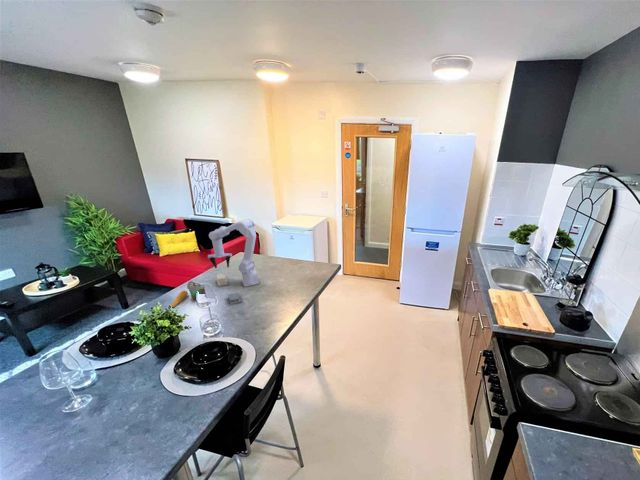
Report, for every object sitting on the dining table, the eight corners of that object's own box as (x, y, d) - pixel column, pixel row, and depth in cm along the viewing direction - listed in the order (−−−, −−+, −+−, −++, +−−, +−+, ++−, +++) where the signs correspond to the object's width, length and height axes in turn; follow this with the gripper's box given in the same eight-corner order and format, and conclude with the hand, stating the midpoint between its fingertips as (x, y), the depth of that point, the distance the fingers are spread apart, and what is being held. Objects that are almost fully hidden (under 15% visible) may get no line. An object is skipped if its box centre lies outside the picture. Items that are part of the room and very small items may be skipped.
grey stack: (238, 295, 180) (238, 292, 179) (241, 302, 174) (240, 298, 173) (228, 298, 178) (228, 294, 177) (230, 304, 171) (230, 300, 170)
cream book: (224, 276, 200) (224, 273, 199) (226, 280, 193) (225, 277, 192) (217, 277, 197) (216, 274, 196) (218, 282, 191) (217, 279, 190)
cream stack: (226, 279, 201) (225, 276, 200) (227, 284, 194) (227, 280, 193) (217, 281, 199) (216, 277, 197) (218, 286, 192) (217, 282, 191)
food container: (185, 298, 176) (181, 284, 172) (195, 294, 181) (191, 280, 177) (198, 303, 171) (194, 288, 166) (207, 299, 176) (204, 284, 171)
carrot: (184, 296, 180) (179, 290, 178) (190, 293, 179) (185, 288, 177) (166, 316, 163) (161, 310, 160) (173, 313, 162) (167, 307, 160)
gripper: (205, 251, 186) (209, 270, 192) (229, 249, 190) (232, 268, 196) (207, 247, 193) (211, 266, 198) (230, 246, 196) (234, 264, 202)
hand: (222, 267), depth 197 cm, fingers open, 7 cm apart
